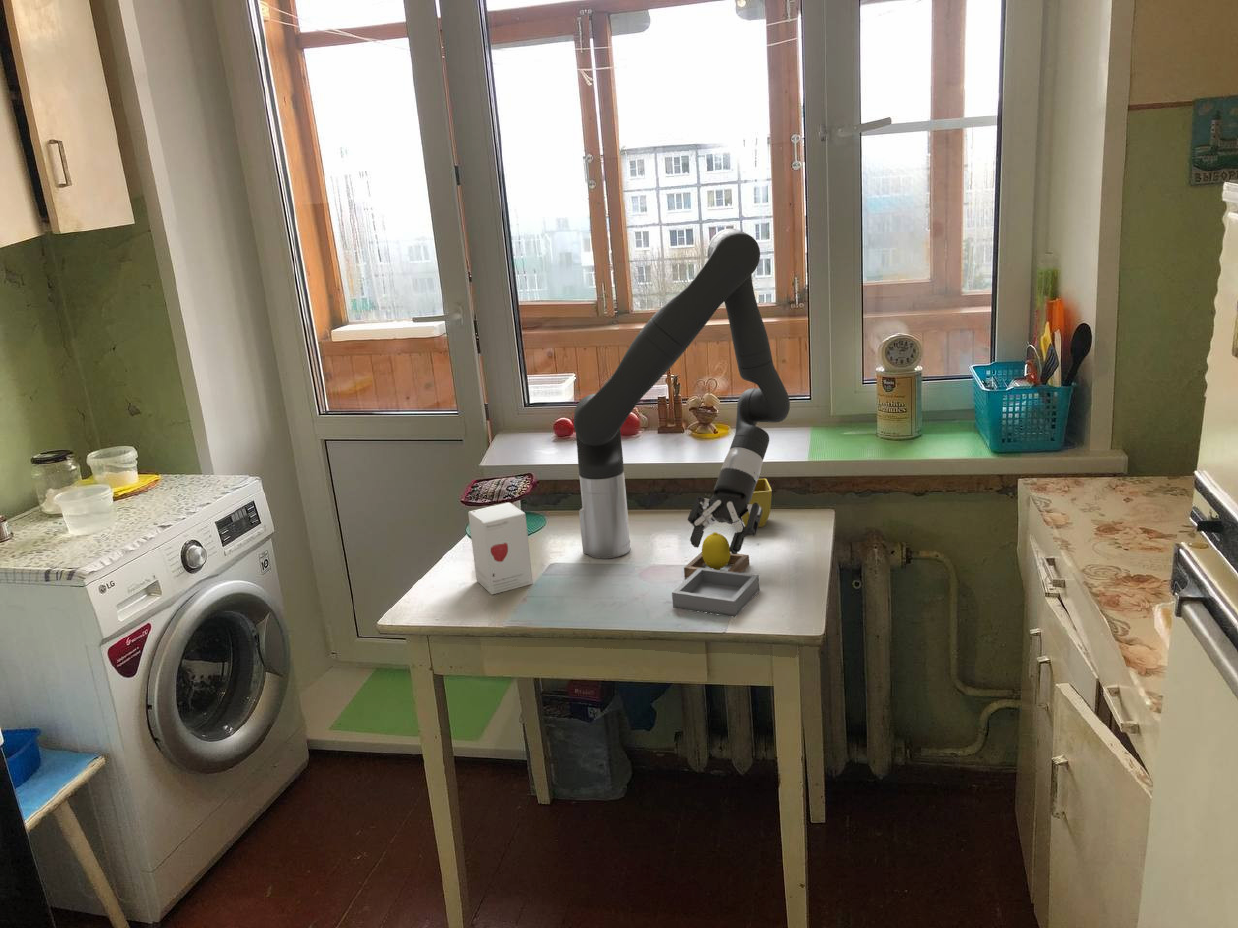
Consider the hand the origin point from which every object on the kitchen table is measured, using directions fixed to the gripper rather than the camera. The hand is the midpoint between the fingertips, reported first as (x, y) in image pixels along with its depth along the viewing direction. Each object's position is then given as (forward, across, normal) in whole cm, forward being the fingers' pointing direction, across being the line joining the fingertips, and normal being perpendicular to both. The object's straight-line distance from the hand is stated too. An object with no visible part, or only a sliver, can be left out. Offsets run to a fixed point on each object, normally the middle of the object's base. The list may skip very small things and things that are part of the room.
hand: (713, 549), depth 186 cm
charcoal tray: (+11, +6, -4) cm, 13 cm away
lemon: (+3, 0, +4) cm, 5 cm away
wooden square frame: (+3, 0, +4) cm, 5 cm away
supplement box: (+19, -36, -12) cm, 42 cm away
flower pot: (-15, -6, +22) cm, 28 cm away
